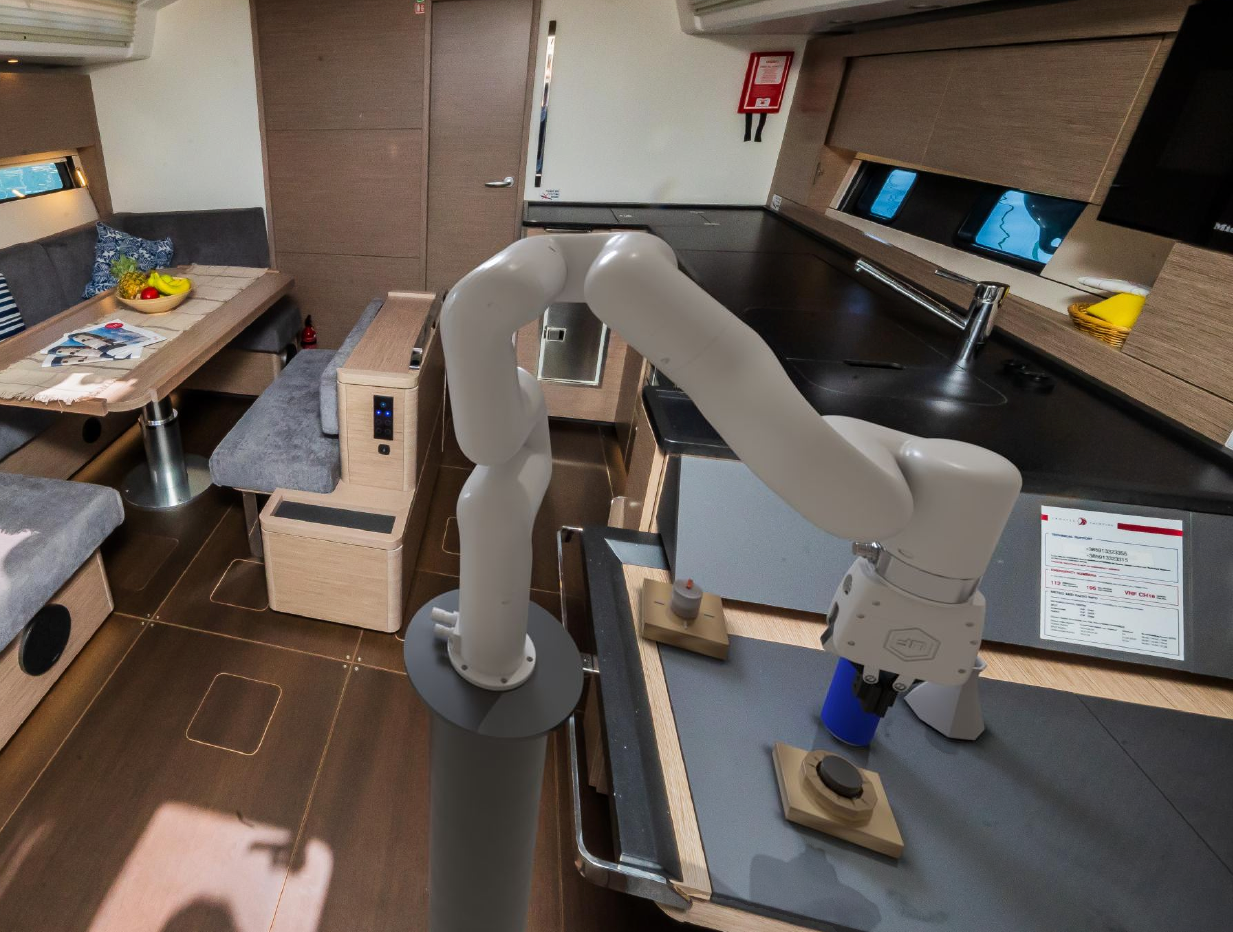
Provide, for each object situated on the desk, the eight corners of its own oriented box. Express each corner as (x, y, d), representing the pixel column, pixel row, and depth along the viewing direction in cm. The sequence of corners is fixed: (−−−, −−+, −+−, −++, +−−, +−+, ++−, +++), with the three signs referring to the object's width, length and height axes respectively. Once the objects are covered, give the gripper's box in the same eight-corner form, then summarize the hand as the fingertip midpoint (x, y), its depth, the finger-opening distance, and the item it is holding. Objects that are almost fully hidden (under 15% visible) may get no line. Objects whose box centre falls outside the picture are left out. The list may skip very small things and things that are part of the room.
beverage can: (856, 714, 77) (889, 628, 72) (879, 753, 72) (916, 664, 67) (811, 707, 78) (840, 621, 73) (831, 744, 74) (863, 656, 68)
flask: (949, 747, 73) (976, 689, 69) (890, 694, 79) (913, 639, 76) (998, 736, 74) (1028, 679, 70) (936, 685, 80) (960, 630, 77)
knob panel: (642, 637, 90) (644, 621, 89) (641, 591, 98) (644, 576, 97) (725, 660, 85) (729, 644, 84) (717, 610, 94) (721, 595, 93)
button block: (785, 819, 66) (793, 796, 65) (771, 753, 73) (778, 731, 72) (898, 859, 62) (910, 836, 61) (873, 785, 69) (882, 763, 68)
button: (823, 790, 66) (826, 780, 65) (814, 760, 69) (818, 750, 68) (863, 804, 64) (867, 794, 64) (853, 772, 67) (857, 762, 67)
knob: (695, 623, 88) (700, 601, 86) (666, 610, 90) (670, 589, 89) (700, 606, 91) (705, 584, 89) (672, 595, 93) (676, 573, 92)
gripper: (835, 572, 55) (790, 709, 62) (1055, 618, 49) (980, 765, 56) (814, 523, 61) (776, 653, 68) (1007, 560, 55) (945, 698, 62)
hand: (868, 703), depth 62 cm, fingers closed
